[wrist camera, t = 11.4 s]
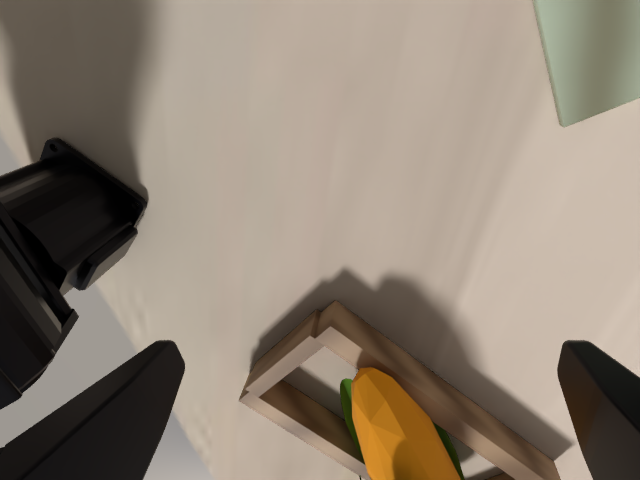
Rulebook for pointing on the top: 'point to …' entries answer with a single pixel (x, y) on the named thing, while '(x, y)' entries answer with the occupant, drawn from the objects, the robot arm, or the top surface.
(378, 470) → the corn
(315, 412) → the cob rest
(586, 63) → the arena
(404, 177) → the top surface
